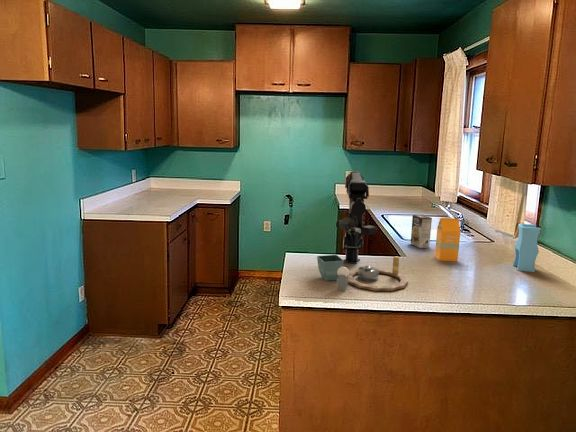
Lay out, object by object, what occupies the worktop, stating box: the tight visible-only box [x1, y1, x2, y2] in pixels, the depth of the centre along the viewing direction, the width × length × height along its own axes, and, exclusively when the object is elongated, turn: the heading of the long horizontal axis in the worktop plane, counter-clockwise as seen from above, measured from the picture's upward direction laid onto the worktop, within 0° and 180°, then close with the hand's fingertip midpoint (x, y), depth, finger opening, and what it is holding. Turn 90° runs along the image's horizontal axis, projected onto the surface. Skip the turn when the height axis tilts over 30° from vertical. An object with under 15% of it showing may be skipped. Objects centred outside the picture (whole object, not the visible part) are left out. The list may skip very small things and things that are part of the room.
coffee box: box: [410, 214, 433, 249], centre depth 250 cm, size 9×6×16 cm
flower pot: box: [316, 254, 345, 282], centre depth 194 cm, size 9×9×9 cm
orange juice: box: [434, 217, 461, 262], centre depth 226 cm, size 8×9×20 cm
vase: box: [512, 223, 542, 273], centre depth 212 cm, size 8×8×20 cm
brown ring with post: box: [348, 255, 409, 292], centre depth 192 cm, size 24×24×8 cm
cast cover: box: [357, 265, 380, 283], centre depth 196 cm, size 8×8×5 cm
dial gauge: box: [337, 266, 350, 292], centre depth 182 cm, size 3×4×9 cm
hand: (354, 246), depth 201 cm, fingers closed
